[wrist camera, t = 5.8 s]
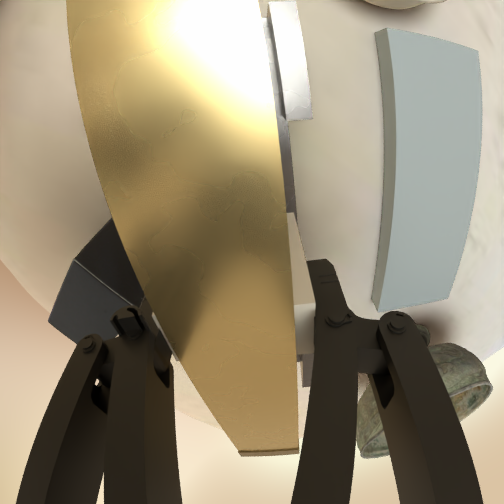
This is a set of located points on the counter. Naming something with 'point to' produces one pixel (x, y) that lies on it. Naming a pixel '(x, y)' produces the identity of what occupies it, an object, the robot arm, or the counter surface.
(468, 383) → the bowl
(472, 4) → the counter surface
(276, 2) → the grey metal bracket
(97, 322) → the small box
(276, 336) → the rail
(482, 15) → the counter surface
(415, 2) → the saucepan
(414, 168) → the board
